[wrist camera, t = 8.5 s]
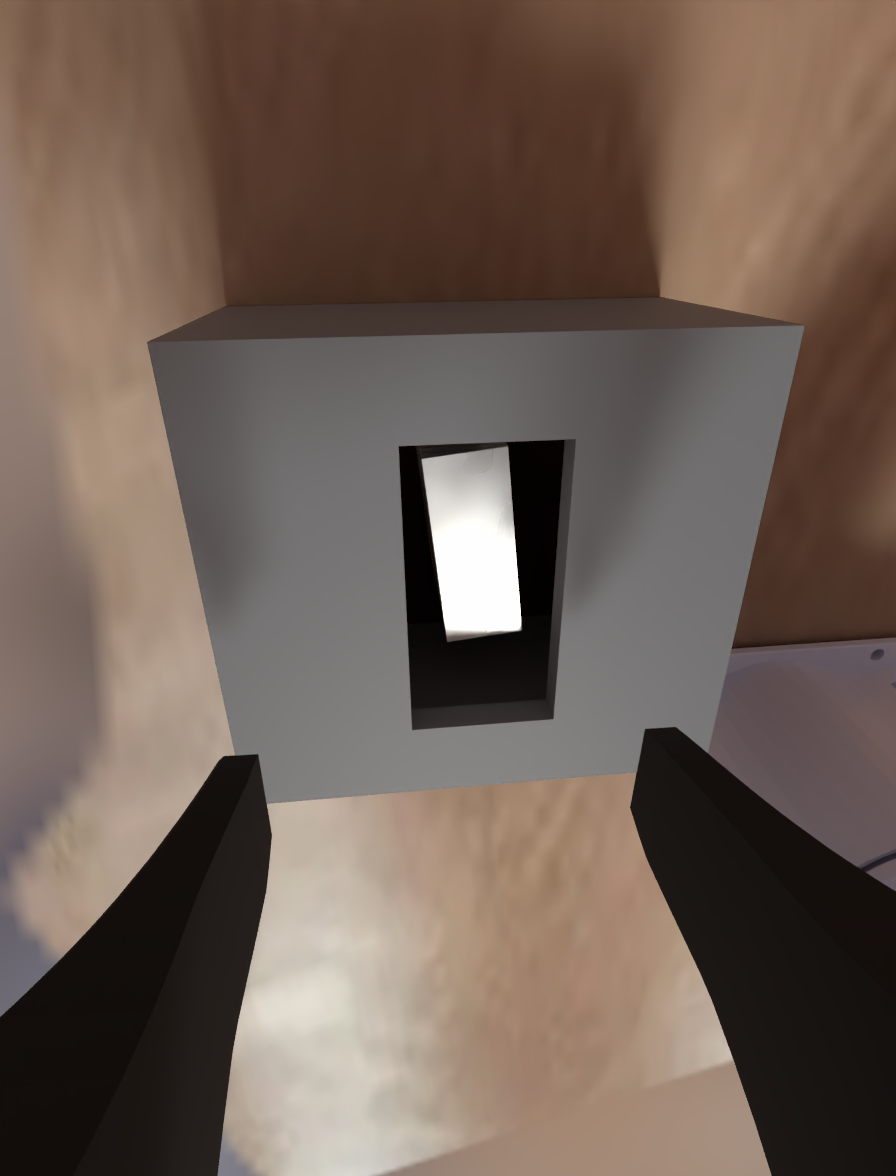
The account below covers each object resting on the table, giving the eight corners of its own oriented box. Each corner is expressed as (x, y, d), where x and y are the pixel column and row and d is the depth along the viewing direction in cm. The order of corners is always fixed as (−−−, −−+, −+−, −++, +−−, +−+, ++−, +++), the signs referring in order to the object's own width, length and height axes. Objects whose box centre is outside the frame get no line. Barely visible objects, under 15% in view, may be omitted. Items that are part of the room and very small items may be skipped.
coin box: (660, 297, 19) (804, 325, 12) (618, 629, 24) (704, 766, 18) (225, 306, 18) (147, 342, 11) (279, 652, 23) (245, 805, 17)
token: (477, 400, 19) (507, 446, 15) (491, 551, 22) (521, 630, 17) (410, 409, 19) (421, 459, 15) (431, 560, 22) (447, 642, 17)
